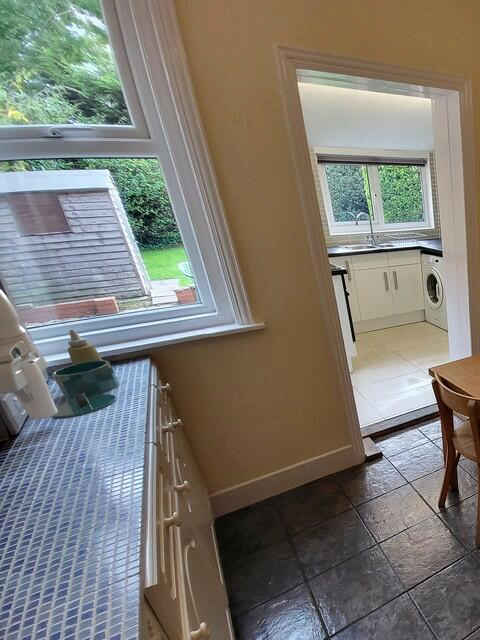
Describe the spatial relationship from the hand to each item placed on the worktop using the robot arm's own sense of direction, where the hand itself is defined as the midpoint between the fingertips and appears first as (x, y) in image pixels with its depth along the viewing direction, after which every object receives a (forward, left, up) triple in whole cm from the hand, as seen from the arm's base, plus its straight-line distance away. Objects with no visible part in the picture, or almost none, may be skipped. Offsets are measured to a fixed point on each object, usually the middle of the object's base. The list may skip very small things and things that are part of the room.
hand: (34, 396), depth 110 cm
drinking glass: (0, 0, -6) cm, 6 cm away
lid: (+4, +11, -9) cm, 15 cm away
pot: (+2, +27, -10) cm, 29 cm away
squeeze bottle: (-1, +43, -10) cm, 44 cm away
